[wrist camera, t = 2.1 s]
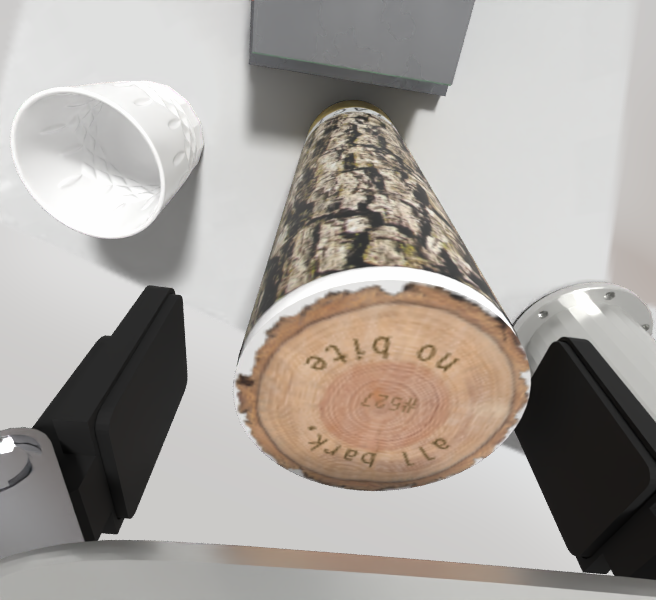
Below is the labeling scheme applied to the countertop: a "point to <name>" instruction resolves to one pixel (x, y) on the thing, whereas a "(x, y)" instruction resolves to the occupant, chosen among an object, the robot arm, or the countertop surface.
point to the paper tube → (374, 324)
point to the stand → (363, 40)
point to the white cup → (105, 153)
